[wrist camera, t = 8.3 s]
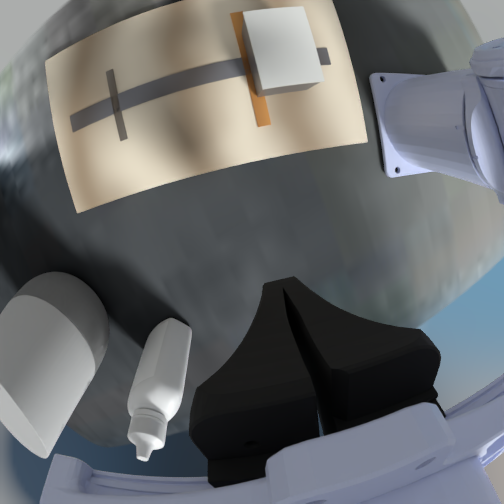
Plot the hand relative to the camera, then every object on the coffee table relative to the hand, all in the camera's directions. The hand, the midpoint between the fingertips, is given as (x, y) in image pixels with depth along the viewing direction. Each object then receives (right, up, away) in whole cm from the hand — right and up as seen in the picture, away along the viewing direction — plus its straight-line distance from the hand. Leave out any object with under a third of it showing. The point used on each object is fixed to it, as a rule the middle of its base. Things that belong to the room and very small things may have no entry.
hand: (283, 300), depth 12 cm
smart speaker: (-18, -3, +10) cm, 21 cm away
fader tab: (0, +13, +2) cm, 13 cm away
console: (-5, +13, +4) cm, 15 cm away
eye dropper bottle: (-9, -6, +12) cm, 16 cm away
